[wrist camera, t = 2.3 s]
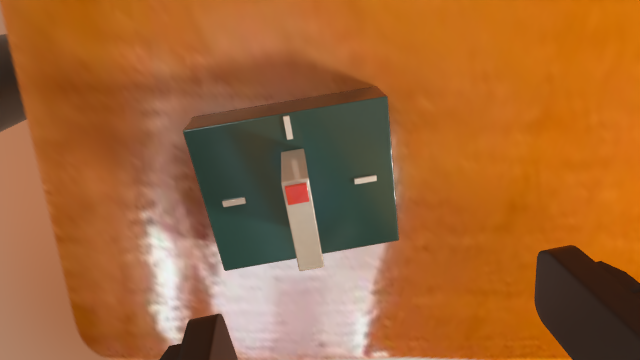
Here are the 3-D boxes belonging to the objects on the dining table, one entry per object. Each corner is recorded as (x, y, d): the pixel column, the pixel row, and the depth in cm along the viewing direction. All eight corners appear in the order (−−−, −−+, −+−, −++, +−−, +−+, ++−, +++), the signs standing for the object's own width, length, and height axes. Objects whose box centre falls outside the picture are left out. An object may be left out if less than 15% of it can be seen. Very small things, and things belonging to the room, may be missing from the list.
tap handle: (317, 226, 27) (324, 270, 23) (296, 230, 27) (299, 274, 23) (303, 147, 25) (309, 180, 20) (280, 151, 25) (280, 184, 20)
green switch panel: (229, 246, 31) (224, 273, 28) (192, 116, 26) (181, 131, 23) (388, 218, 31) (400, 242, 28) (376, 85, 27) (388, 96, 24)
